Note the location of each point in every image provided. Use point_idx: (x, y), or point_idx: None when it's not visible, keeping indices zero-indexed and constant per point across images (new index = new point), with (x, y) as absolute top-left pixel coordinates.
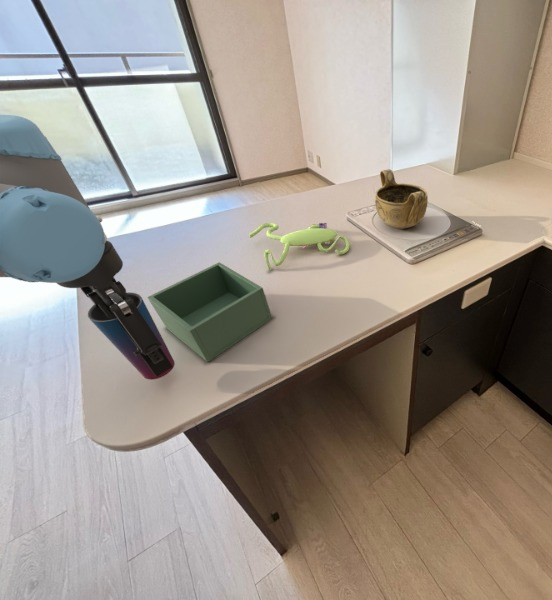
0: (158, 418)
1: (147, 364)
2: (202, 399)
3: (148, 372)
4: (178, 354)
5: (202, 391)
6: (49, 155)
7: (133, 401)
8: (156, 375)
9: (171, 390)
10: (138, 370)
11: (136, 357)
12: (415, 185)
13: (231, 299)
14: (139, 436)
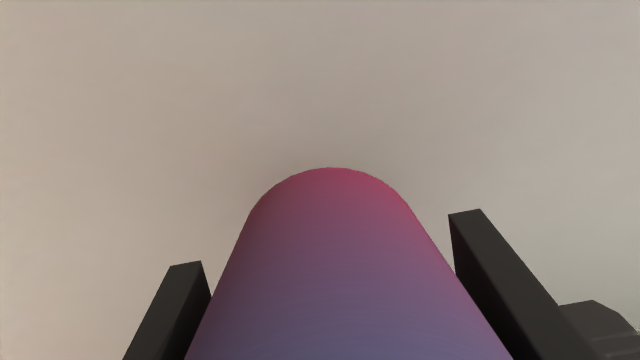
0: (76, 108)
1: (153, 337)
2: (65, 300)
3: (238, 241)
4: None
5: (116, 315)
6: None
7: (284, 34)
8: (167, 275)
9: (225, 208)
10: (287, 203)
11: (188, 351)
12: None
13: None
14: (14, 2)
